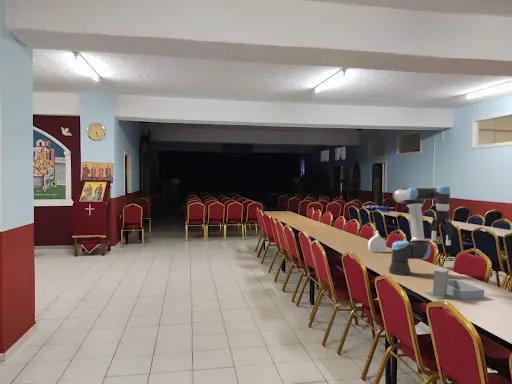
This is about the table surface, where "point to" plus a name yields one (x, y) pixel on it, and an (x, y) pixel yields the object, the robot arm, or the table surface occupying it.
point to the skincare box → (440, 282)
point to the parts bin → (468, 292)
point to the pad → (440, 297)
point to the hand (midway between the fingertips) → (440, 242)
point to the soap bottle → (377, 244)
